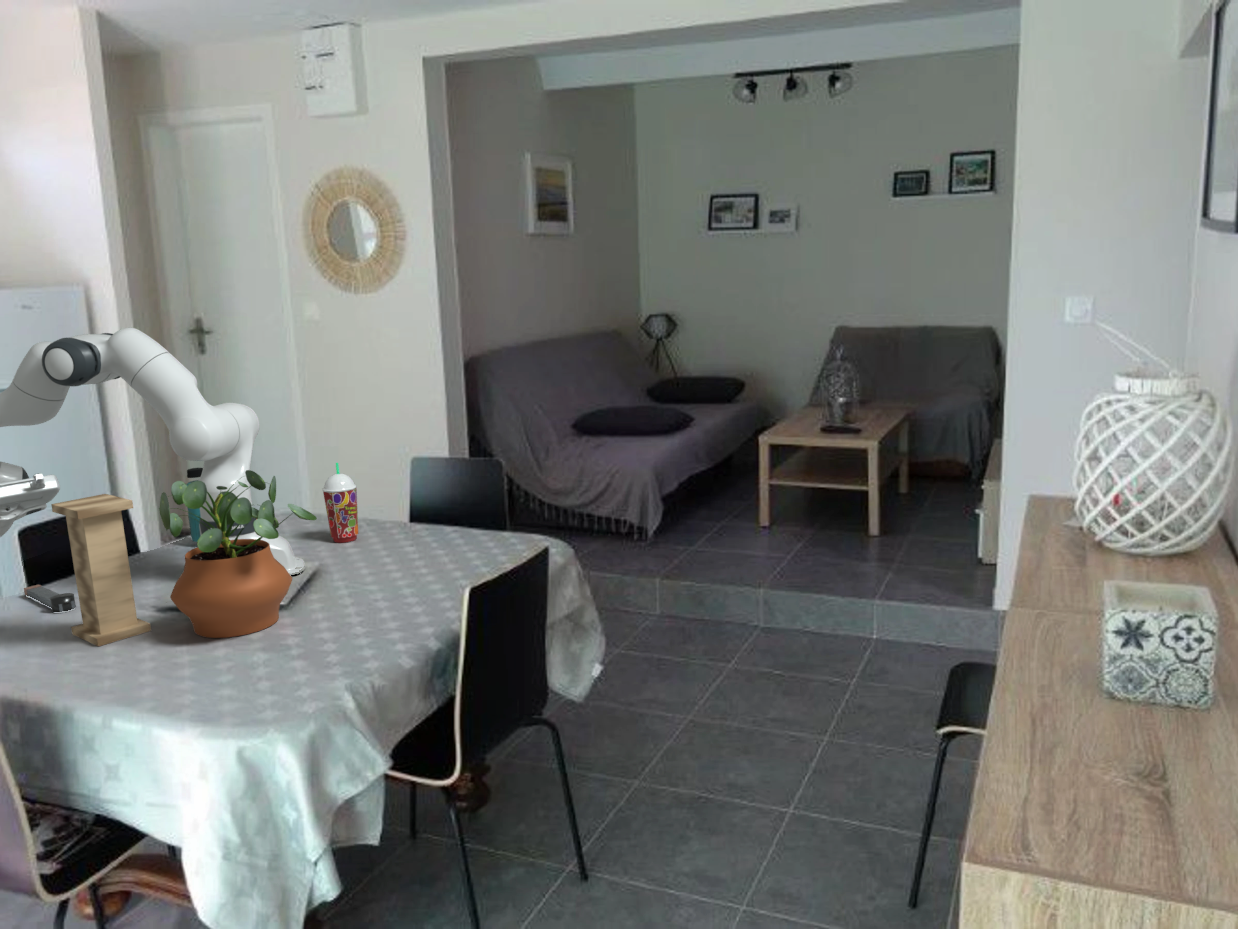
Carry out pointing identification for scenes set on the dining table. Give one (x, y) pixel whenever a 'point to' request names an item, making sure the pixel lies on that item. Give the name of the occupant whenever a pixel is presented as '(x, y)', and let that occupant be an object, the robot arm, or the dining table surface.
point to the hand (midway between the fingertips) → (16, 480)
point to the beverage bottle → (194, 523)
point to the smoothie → (341, 507)
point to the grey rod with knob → (51, 598)
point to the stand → (101, 568)
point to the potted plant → (229, 561)
